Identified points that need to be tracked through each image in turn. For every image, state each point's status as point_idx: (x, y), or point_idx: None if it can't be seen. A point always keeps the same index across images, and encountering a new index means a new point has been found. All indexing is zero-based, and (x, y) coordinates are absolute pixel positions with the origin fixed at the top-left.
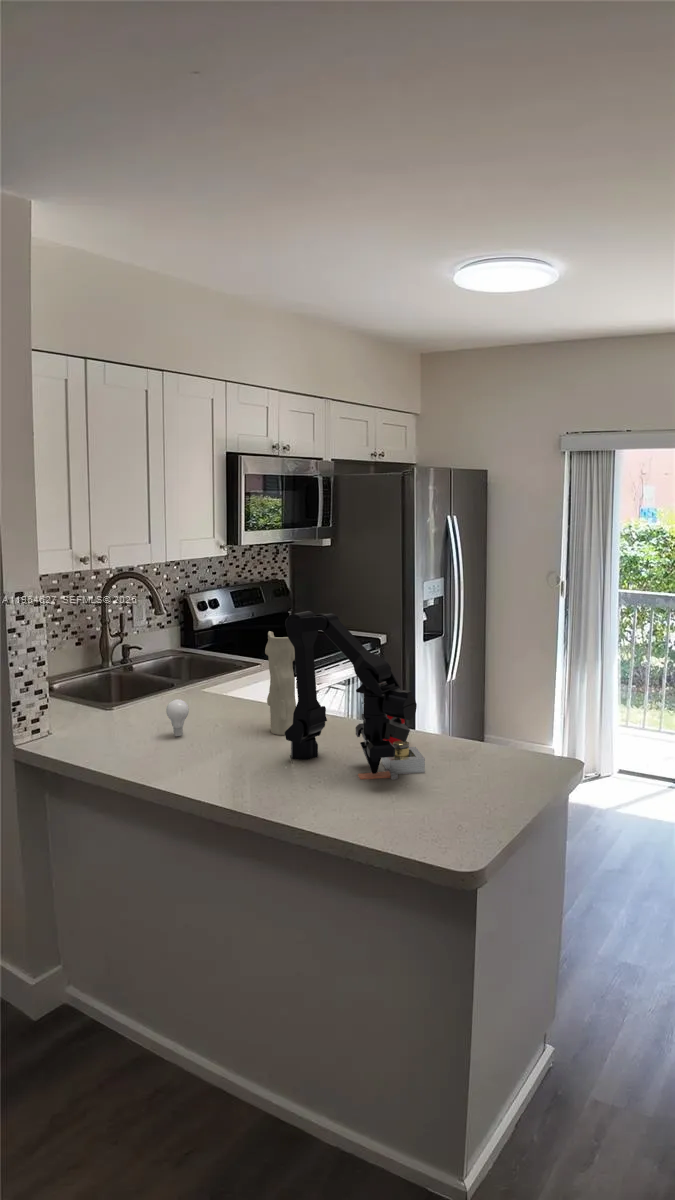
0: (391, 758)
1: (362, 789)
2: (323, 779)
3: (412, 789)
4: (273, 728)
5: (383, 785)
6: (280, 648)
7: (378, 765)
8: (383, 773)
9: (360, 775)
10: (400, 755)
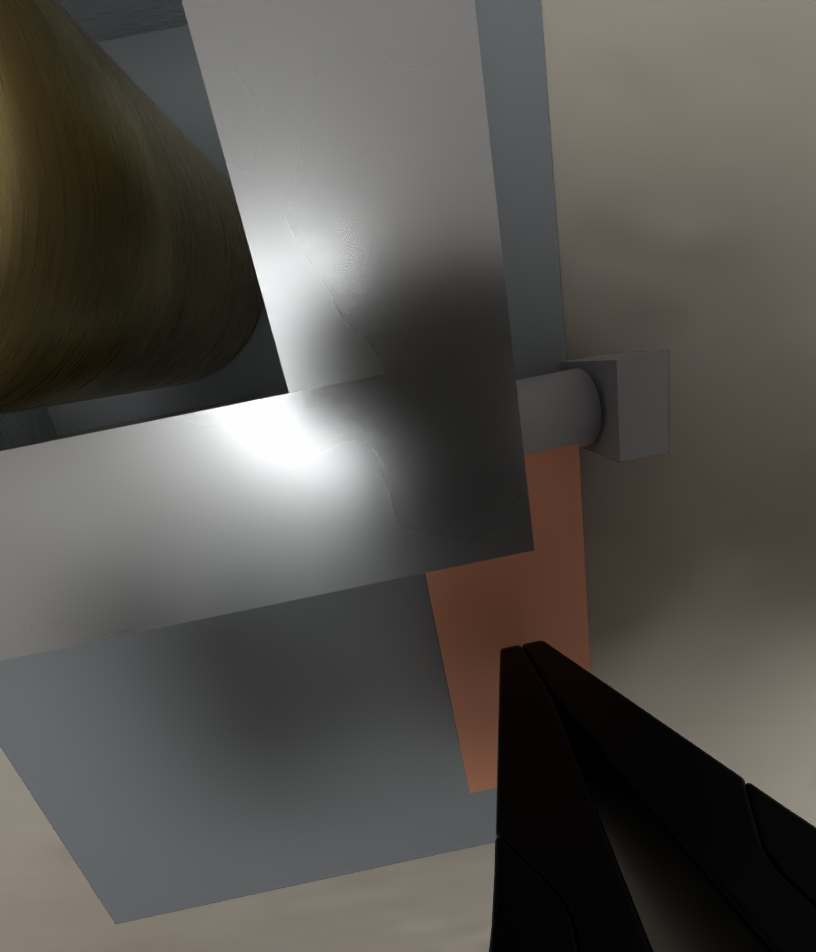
0: (362, 503)
1: (691, 687)
2: (455, 934)
3: (798, 164)
4: None
5: (623, 513)
6: None
7: (661, 727)
8: None
9: None
10: (37, 169)
